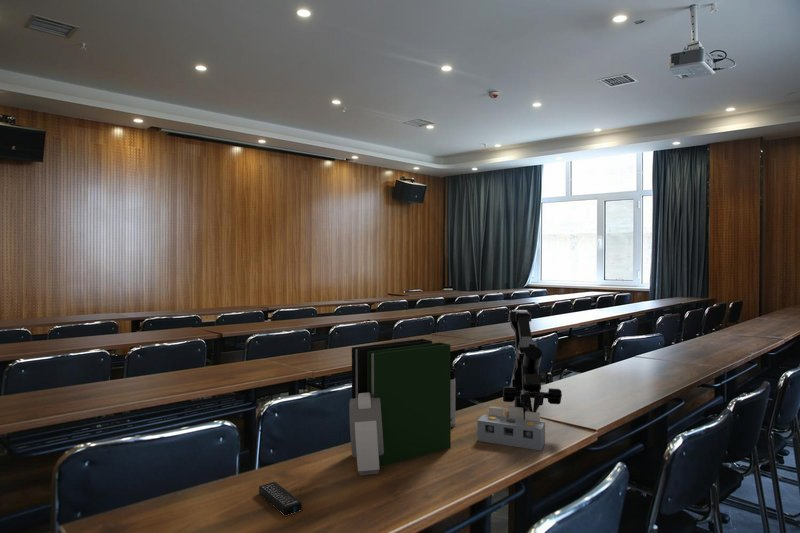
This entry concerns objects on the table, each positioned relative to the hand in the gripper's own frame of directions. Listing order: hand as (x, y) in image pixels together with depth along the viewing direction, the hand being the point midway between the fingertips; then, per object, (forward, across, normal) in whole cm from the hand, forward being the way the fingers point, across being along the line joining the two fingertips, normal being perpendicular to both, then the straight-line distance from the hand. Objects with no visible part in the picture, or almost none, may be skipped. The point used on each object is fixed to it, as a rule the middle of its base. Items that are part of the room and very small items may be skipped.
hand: (533, 418), depth 160 cm
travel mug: (-2, -29, +11) cm, 31 cm away
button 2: (+2, -6, +3) cm, 7 cm away
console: (+7, -7, +2) cm, 10 cm away
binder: (+17, -40, -7) cm, 44 cm away
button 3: (+5, -1, 0) cm, 6 cm away
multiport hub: (+43, -63, -32) cm, 83 cm away
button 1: (+3, -13, +2) cm, 13 cm away
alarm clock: (+26, -47, -17) cm, 56 cm away
